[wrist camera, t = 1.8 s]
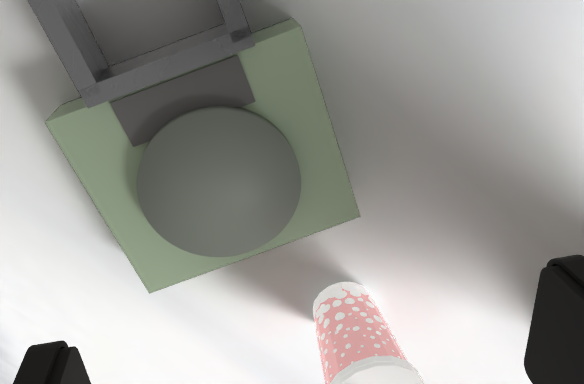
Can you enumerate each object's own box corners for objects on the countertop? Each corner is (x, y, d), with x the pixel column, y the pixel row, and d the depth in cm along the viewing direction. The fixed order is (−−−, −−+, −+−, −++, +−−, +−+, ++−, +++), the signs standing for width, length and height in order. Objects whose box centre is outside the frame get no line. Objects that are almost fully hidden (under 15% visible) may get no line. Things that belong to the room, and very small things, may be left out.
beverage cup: (288, 297, 37) (326, 478, 25) (362, 259, 36) (440, 424, 24) (324, 349, 40) (375, 534, 27) (393, 314, 39) (477, 487, 27)
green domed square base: (292, 17, 28) (304, 29, 25) (348, 194, 34) (364, 224, 30) (60, 105, 29) (38, 129, 25) (154, 265, 34) (147, 303, 31)
